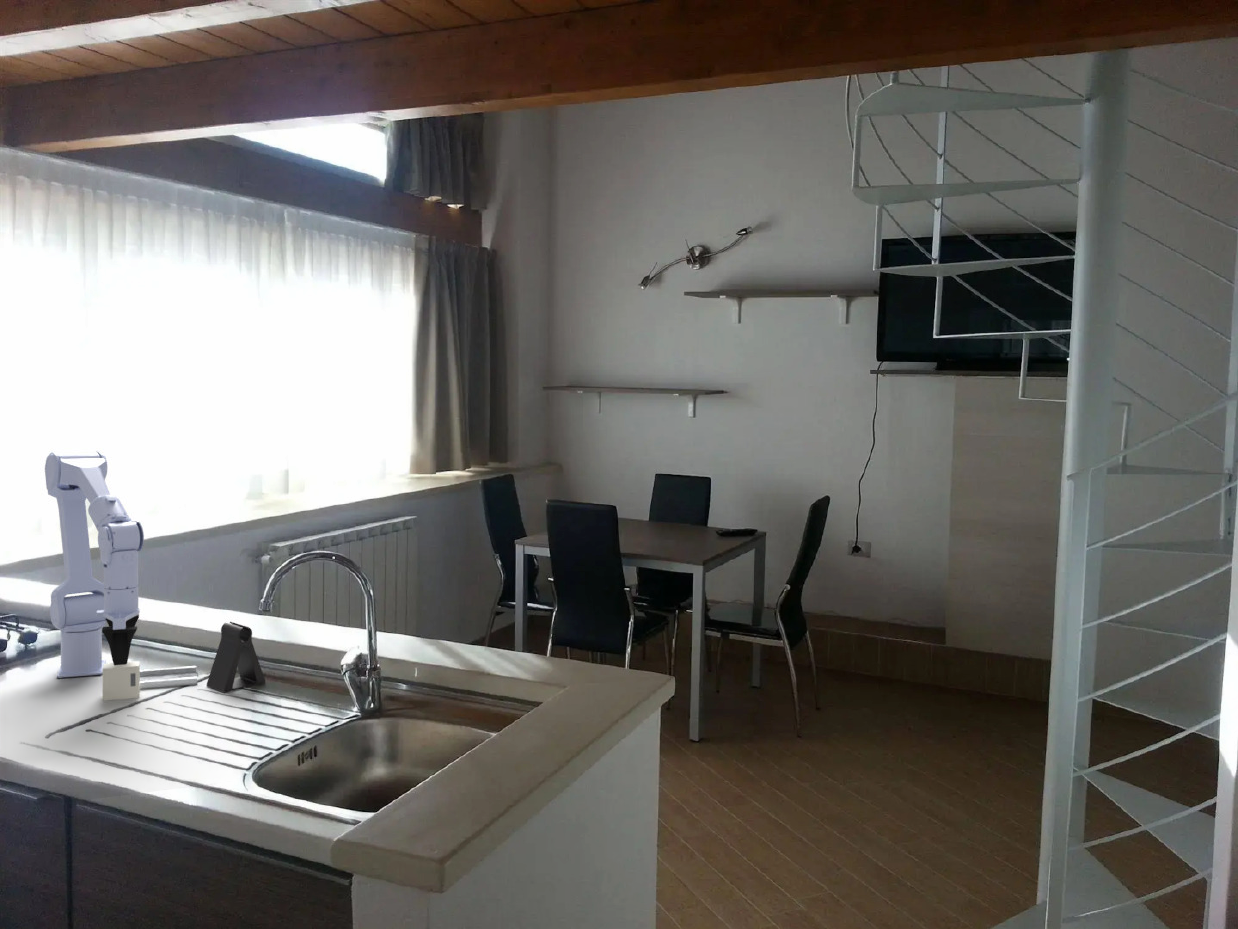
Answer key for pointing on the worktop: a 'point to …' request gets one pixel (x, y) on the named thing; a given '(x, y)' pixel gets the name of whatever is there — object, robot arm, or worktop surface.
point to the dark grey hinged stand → (235, 660)
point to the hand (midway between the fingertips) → (121, 659)
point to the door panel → (121, 681)
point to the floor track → (168, 677)
